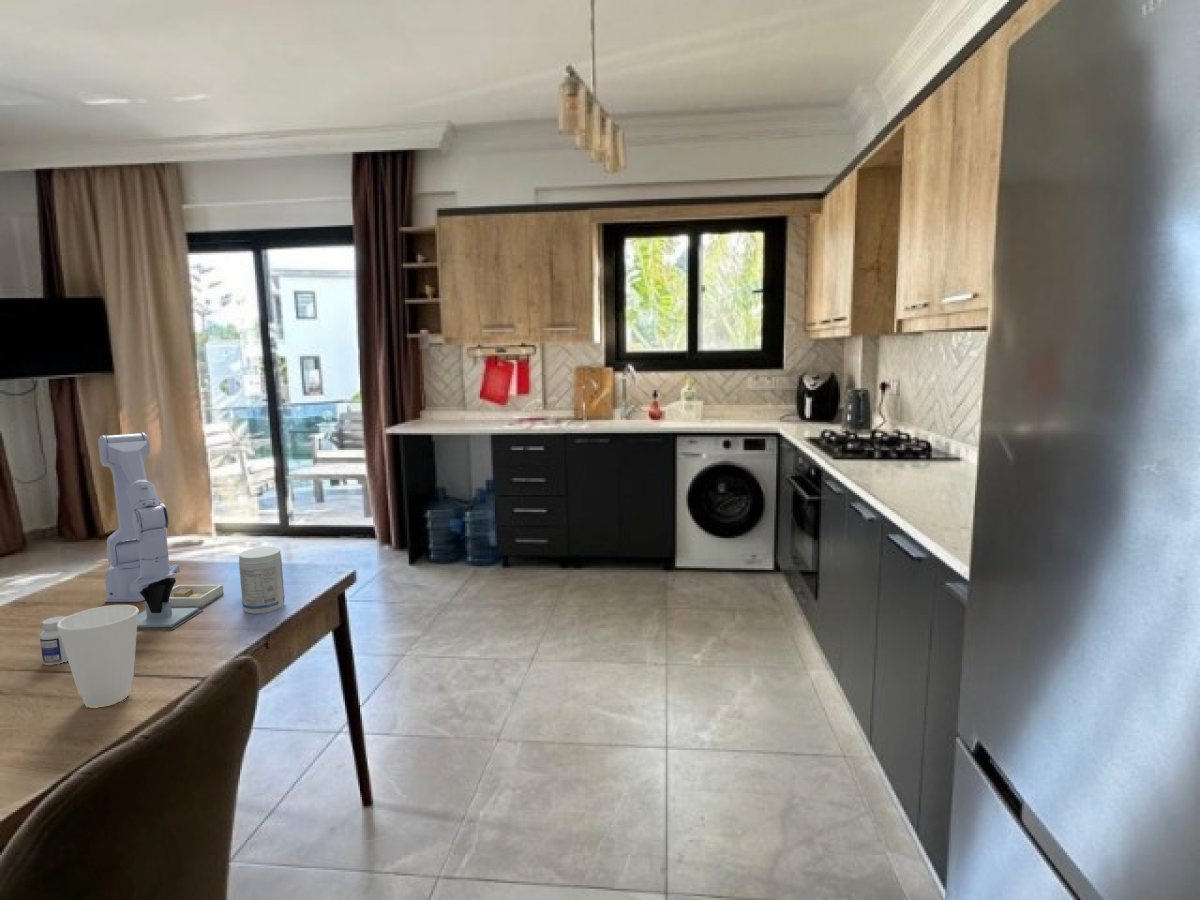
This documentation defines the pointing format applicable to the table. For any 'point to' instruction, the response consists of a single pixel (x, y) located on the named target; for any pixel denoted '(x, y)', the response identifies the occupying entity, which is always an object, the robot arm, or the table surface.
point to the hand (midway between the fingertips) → (159, 610)
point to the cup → (101, 651)
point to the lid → (164, 616)
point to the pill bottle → (52, 642)
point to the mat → (172, 626)
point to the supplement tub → (261, 580)
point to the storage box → (194, 595)
